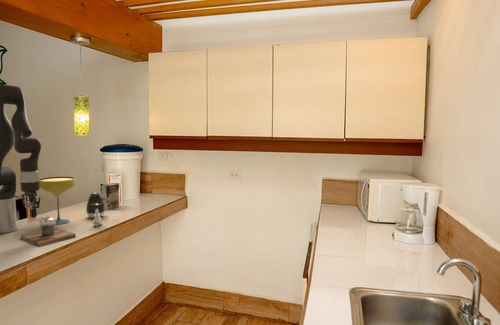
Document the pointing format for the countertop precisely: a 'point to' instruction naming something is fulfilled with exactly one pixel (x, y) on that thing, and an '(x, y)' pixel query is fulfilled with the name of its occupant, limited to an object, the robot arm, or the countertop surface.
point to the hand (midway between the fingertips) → (31, 216)
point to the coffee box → (110, 196)
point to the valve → (97, 215)
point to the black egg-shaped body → (92, 199)
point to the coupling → (41, 219)
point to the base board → (47, 236)
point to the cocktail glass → (57, 189)
